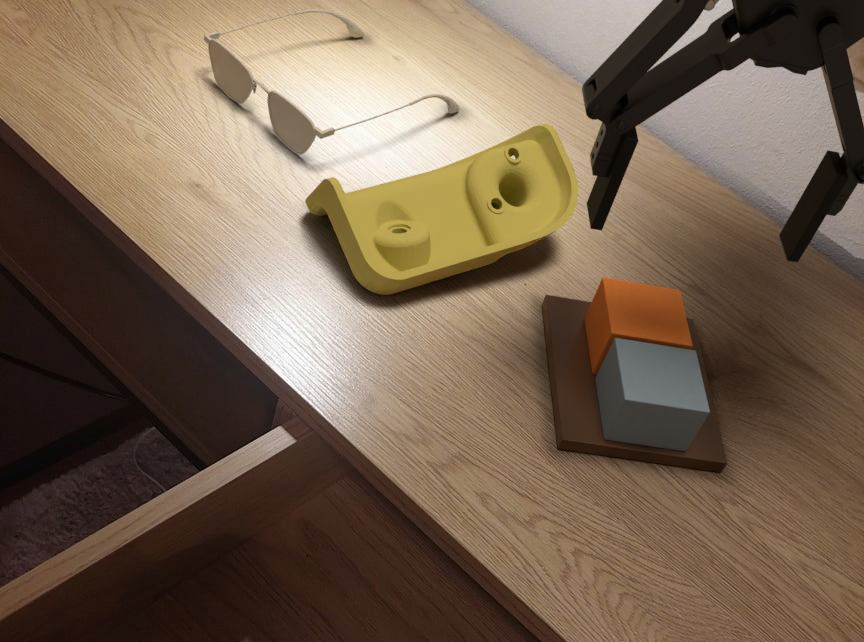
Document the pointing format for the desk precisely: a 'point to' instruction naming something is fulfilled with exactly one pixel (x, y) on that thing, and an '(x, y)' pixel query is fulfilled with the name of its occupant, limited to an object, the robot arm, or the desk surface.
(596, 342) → the orange cube
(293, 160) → the desk surface
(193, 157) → the desk surface
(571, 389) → the board
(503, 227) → the plastic component
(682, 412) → the grey-blue cube
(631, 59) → the robot arm
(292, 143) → the eyeglasses
